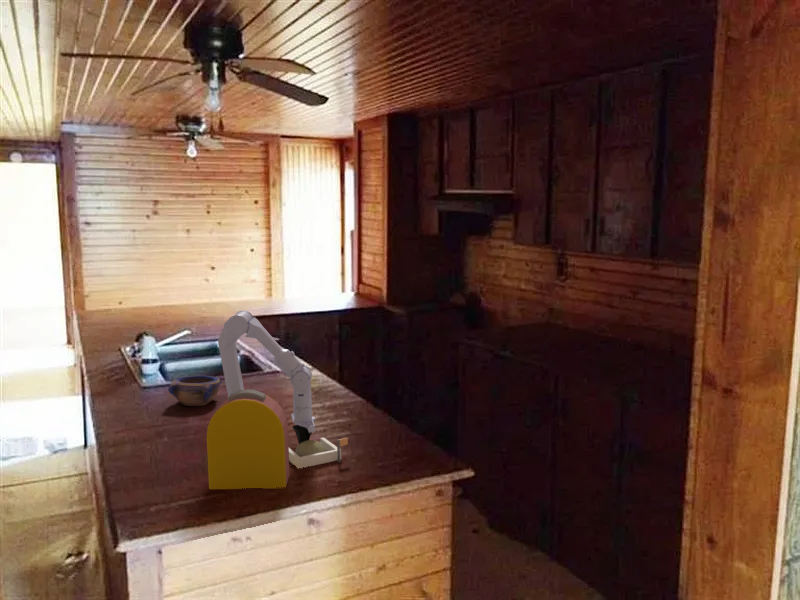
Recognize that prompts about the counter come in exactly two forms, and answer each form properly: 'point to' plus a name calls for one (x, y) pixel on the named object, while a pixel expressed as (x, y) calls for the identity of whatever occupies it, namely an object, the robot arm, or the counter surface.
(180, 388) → the bowl
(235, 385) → the robot arm
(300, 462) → the shallow white tray
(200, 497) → the counter surface
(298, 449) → the sea urchin shell
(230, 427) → the yellow arched block
